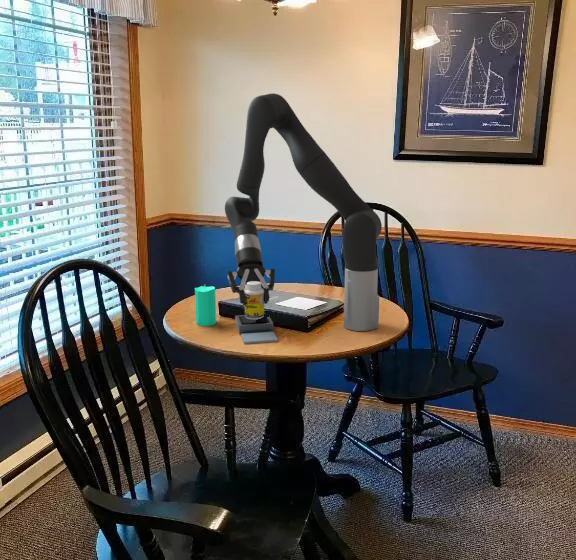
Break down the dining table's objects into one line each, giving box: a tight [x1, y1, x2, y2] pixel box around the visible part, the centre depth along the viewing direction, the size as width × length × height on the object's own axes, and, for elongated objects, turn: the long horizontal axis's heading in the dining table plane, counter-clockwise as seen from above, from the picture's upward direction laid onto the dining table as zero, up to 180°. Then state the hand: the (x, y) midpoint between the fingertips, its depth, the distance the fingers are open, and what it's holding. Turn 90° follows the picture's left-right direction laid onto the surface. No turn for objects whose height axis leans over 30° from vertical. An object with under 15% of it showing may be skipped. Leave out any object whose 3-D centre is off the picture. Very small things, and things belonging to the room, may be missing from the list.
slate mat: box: [240, 332, 278, 345], centre depth 160 cm, size 9×7×1 cm
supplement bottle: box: [244, 281, 265, 320], centre depth 167 cm, size 6×6×10 cm
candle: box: [194, 285, 217, 327], centre depth 173 cm, size 6×6×12 cm
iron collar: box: [234, 314, 275, 336], centre depth 169 cm, size 10×10×2 cm
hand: (255, 303), depth 166 cm, fingers closed on supplement bottle, 5 cm apart
